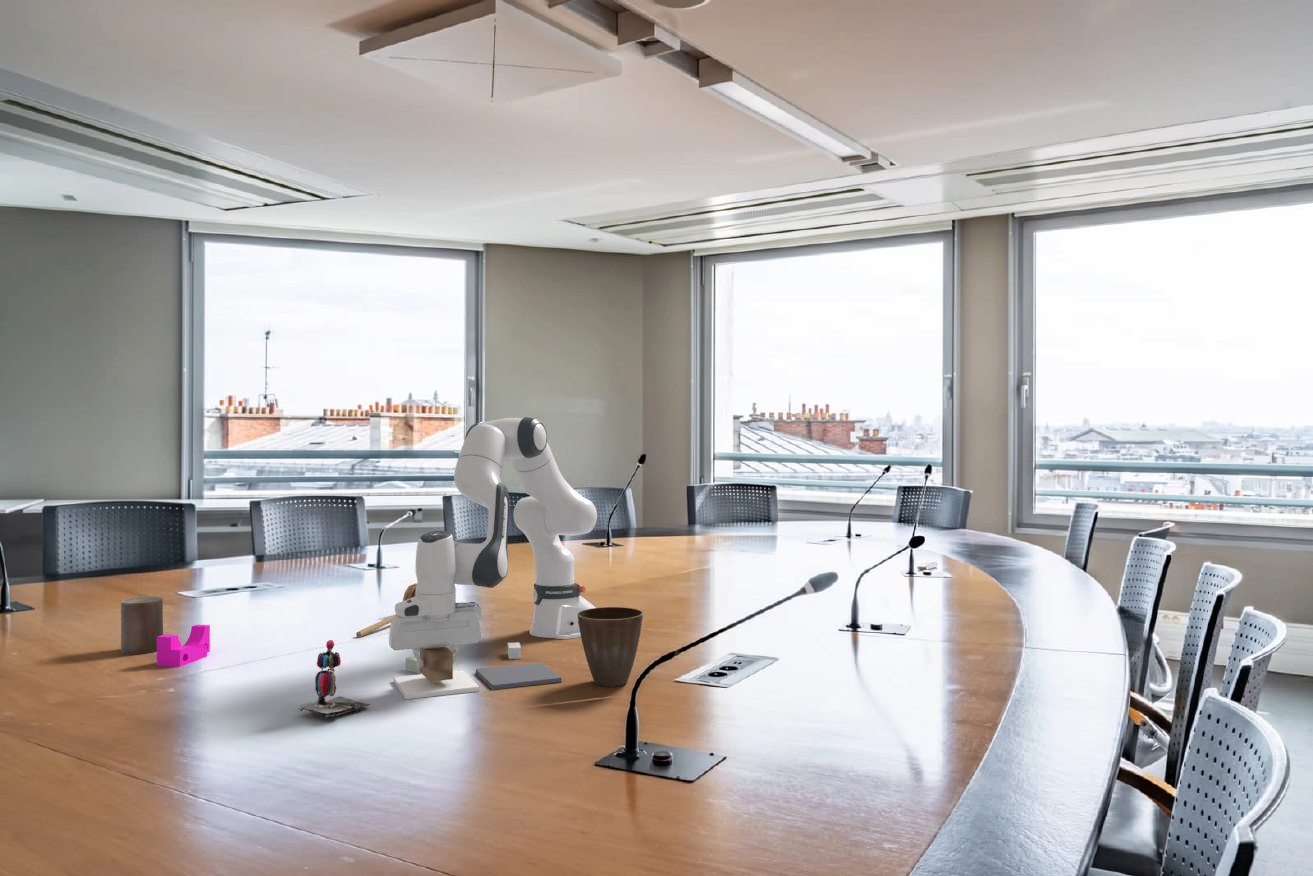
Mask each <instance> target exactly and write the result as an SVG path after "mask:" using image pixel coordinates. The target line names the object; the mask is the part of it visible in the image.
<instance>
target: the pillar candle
mask: <svg viewBox="0 0 1313 876" xmlns="http://www.w3.org/2000/svg"><path fill="white" fill-rule="evenodd" d="M163 606H164V605H163V597H161V596H143V594H141V596H138V597H131V598H126V599H123V600H121V601H120V653H121V654H122V655H125V656H126V655H127V656H141V655H148V654H149V655H150V654H153V653H157V637H158V636H161V635H164V617H163V616H164V615H163V614H164V609H163Z"/></svg>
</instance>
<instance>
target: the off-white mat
mask: <svg viewBox="0 0 1313 876" xmlns="http://www.w3.org/2000/svg"><path fill="white" fill-rule="evenodd" d="M393 683H394V684H395V686H396V688H398V690H399V692H400V693H401V695H402V696H403V698H404V699H405V700H411V699H422V698H429V697H439V696H447V695H448V696H449V695H457V694H466V693H474V692H475V693H477V692H480V686H479V685H478V684H477V682H476V681H474V679H472V677H470V675H469V674H468V673H467V672H466V671H465V670H463V669H461V670H453V679H450V680H442V681H433V682H430V681H429V680H428V679H427V678H426V677H425V676H424V675H423V674H419V673H418V674H412V675H401V676H394V677H393Z"/></svg>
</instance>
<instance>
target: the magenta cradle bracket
mask: <svg viewBox="0 0 1313 876" xmlns="http://www.w3.org/2000/svg"><path fill="white" fill-rule="evenodd" d="M189 633H190V634H189V636H188V638H187V639H186V641H185V643H184V644H183V645H182V644H181V641H180V639H179V635H178V634H164V633H163V635H161V636H158V637H157V652H156V666H160V667H175V668H177V667H179V668H180V667H183V666H186V665H188V664H191V663H194V662H196V661H200V660H202V659H204V658H207V657H208V653H210V652H211V642H210V641H211V626H210V624H194V625H191V629H190V632H189Z"/></svg>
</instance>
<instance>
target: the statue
mask: <svg viewBox="0 0 1313 876" xmlns="http://www.w3.org/2000/svg"><path fill="white" fill-rule="evenodd" d="M325 645H326V648H327V649H326V652H320V653H318V655H317V658H316V659H317V660H316V666H317V668H319V669H320V671H318V672H317V673H316V675H315V678H314V679H315V680H314V681H315V682H314V683H315V686H314V689H315V692H316V695H317V696H318V700H317V701H312V702H307V703H304V704H299V705H297V707H298V708H297V710H299V711H300V712H302V711H304V710H305V711H308V712H311V715H315V714H319V715H321V714H322V713H323V714H326V715H324V717H325V718H329V717H335V716H339V715H343V714H346V713H354V714H356V713H358V712H361V711H362V710H363V709H365V708H367V707H368V706H370V705H371V703H370V704H369V703H365V702H362V701H357V700H355V699H351V698H347V697H344V696H336V697H333V696H335V694H336V690H337V686H336V675H335V668H337V667H339V666H341V662H342V660H341V657H340V656H341V655H340V653H339V652H337V651H335V652H334V651H333V649H334V647H335V642H334V640H332V639H329V640H327V641H326V643H325ZM324 669H325V670H324ZM327 696H330V697H333V698H331V699H329V700H326V697H327Z"/></svg>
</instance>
